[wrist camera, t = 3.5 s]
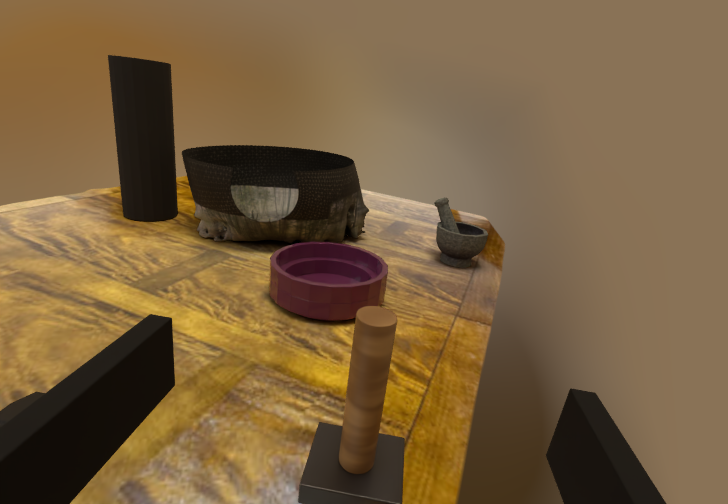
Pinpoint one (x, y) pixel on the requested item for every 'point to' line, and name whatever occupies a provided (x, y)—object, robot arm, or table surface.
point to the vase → (144, 137)
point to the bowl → (326, 279)
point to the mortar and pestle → (457, 238)
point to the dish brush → (359, 428)
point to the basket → (274, 194)
